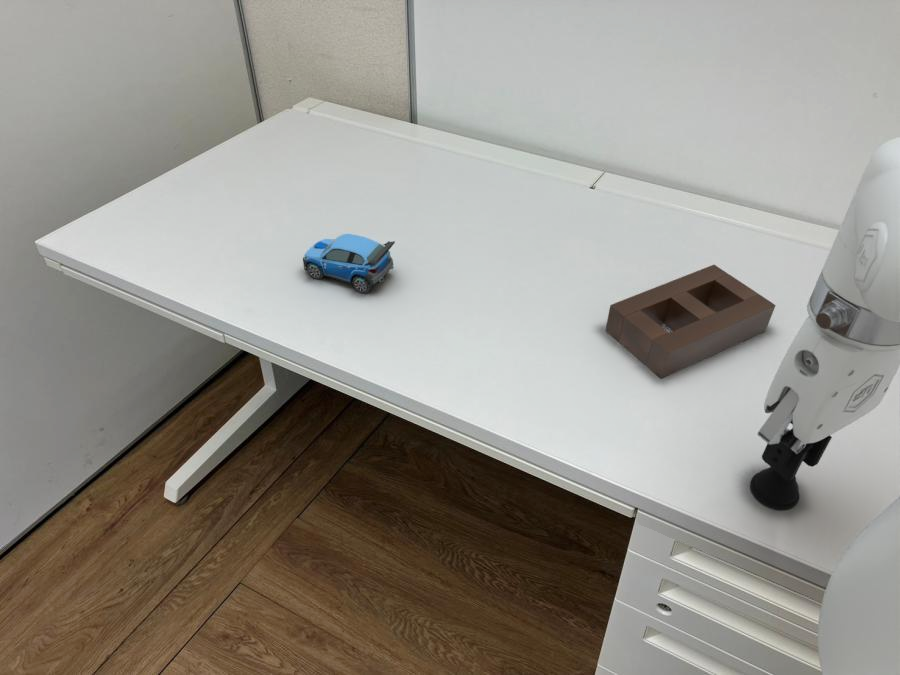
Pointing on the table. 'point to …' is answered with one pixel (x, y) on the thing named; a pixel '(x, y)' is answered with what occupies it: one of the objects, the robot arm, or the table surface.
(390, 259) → the toy car
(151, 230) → the table surface
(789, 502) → the chess piece
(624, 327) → the socket base
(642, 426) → the table surface
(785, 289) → the table surface
